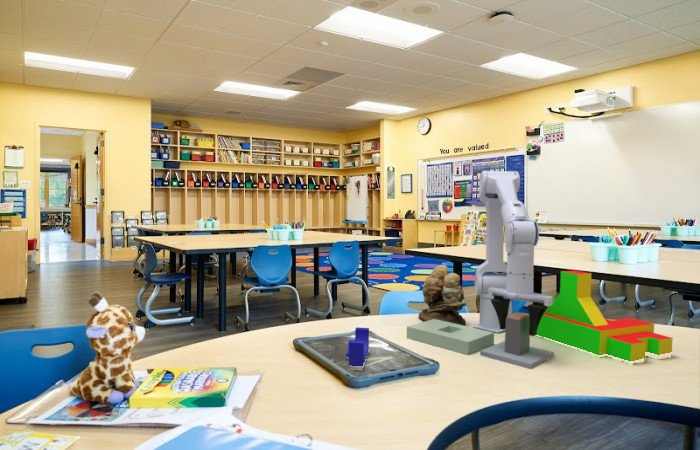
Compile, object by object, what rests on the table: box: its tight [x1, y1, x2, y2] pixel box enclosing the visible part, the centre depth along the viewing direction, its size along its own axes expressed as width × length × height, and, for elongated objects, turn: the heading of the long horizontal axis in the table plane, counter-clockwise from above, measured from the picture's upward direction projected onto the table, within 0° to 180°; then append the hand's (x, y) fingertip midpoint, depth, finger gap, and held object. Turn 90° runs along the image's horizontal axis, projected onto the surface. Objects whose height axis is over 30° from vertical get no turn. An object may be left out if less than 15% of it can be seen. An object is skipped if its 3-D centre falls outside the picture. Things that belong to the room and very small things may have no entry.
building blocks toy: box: [535, 270, 673, 361], centre depth 117 cm, size 19×25×18 cm
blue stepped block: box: [345, 326, 370, 366], centre depth 103 cm, size 12×4×6 cm, turn 172°
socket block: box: [406, 319, 495, 356], centre depth 119 cm, size 12×18×3 cm, turn 45°
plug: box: [504, 311, 531, 356], centre depth 108 cm, size 5×4×9 cm
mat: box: [479, 340, 555, 369], centre depth 108 cm, size 12×12×1 cm
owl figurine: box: [418, 264, 467, 326], centre depth 139 cm, size 18×12×17 cm, turn 27°
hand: (517, 331), depth 108 cm, fingers open, 6 cm apart
